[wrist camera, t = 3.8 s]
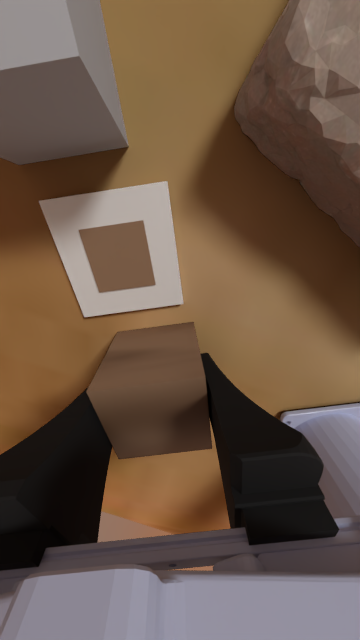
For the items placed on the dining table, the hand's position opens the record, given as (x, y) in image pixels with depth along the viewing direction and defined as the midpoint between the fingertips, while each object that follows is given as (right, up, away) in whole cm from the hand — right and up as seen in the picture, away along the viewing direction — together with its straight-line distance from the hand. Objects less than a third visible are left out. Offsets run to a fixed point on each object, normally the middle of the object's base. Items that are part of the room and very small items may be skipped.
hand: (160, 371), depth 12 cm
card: (-2, +7, -2) cm, 7 cm away
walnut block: (0, +1, +1) cm, 1 cm away
